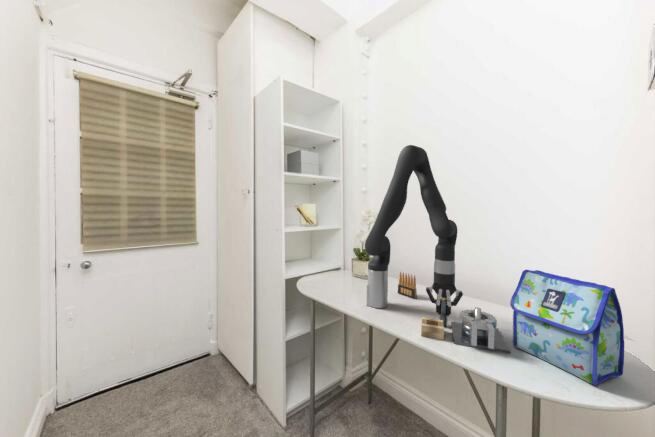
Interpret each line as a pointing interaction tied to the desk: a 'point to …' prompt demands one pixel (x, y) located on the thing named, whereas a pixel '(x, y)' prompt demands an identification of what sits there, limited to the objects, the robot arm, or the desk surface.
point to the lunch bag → (569, 324)
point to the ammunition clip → (407, 286)
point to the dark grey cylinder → (443, 310)
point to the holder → (432, 328)
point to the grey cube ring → (479, 326)
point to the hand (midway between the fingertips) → (443, 314)
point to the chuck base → (463, 334)
